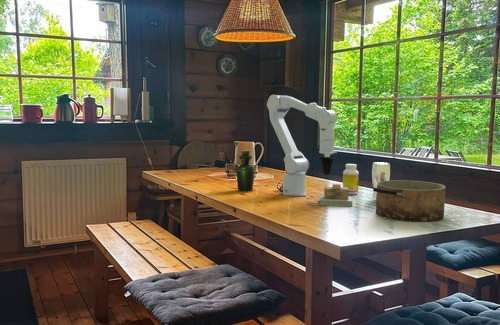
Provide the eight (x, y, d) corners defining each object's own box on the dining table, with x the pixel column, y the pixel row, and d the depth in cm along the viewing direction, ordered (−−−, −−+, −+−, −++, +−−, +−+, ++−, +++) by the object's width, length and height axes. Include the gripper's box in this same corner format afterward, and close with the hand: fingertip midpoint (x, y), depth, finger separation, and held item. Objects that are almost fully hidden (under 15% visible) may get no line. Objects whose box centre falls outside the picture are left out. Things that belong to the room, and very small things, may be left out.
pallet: (324, 198, 182) (324, 188, 182) (324, 196, 187) (324, 186, 187) (348, 199, 181) (348, 189, 181) (347, 197, 186) (347, 187, 186)
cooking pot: (404, 227, 147) (405, 193, 146) (354, 213, 167) (355, 183, 165) (465, 217, 163) (467, 186, 161) (413, 205, 182) (414, 178, 181)
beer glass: (379, 202, 188) (380, 164, 186) (367, 199, 194) (368, 162, 192) (392, 200, 191) (394, 163, 190) (380, 197, 197) (381, 162, 196)
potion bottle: (244, 192, 206) (244, 151, 204) (232, 190, 212) (232, 150, 210) (258, 191, 211) (258, 150, 209) (246, 188, 217) (246, 149, 215)
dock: (320, 205, 180) (320, 199, 180) (320, 200, 190) (320, 195, 190) (352, 206, 179) (352, 201, 178) (350, 201, 188) (350, 196, 188)
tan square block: (332, 188, 183) (332, 184, 182) (332, 187, 186) (332, 183, 185) (340, 188, 182) (340, 184, 182) (340, 187, 185) (340, 183, 185)
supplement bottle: (358, 195, 203) (359, 165, 202) (342, 194, 204) (343, 164, 203) (357, 192, 210) (358, 163, 208) (342, 192, 211) (343, 163, 210)
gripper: (337, 140, 183) (337, 175, 185) (336, 139, 198) (336, 171, 199) (319, 140, 184) (318, 175, 186) (319, 139, 199) (319, 171, 200)
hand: (326, 173), depth 192 cm, fingers open, 7 cm apart
